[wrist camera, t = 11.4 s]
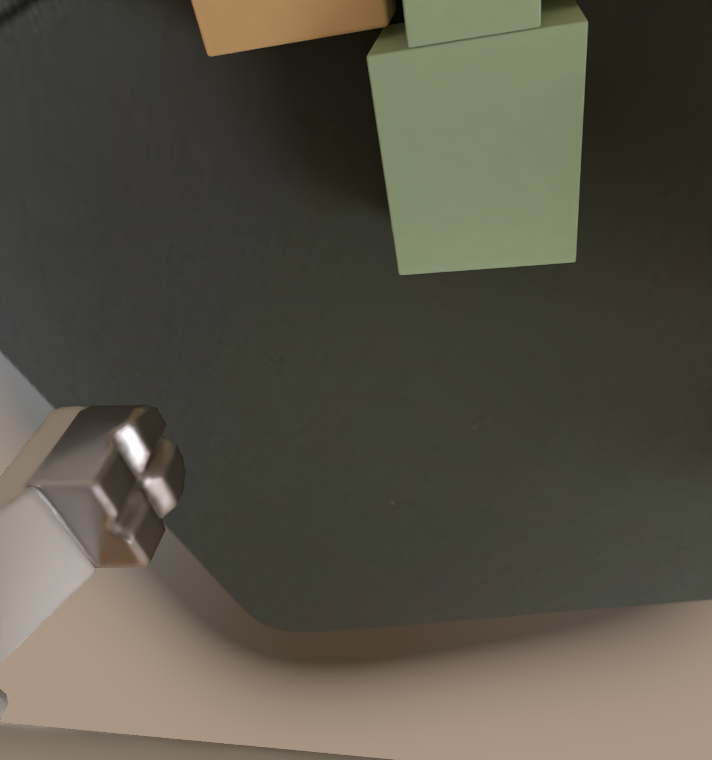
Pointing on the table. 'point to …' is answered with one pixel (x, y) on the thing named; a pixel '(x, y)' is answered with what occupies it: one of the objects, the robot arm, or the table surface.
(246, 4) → the sand pad
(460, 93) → the sage block
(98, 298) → the table surface
